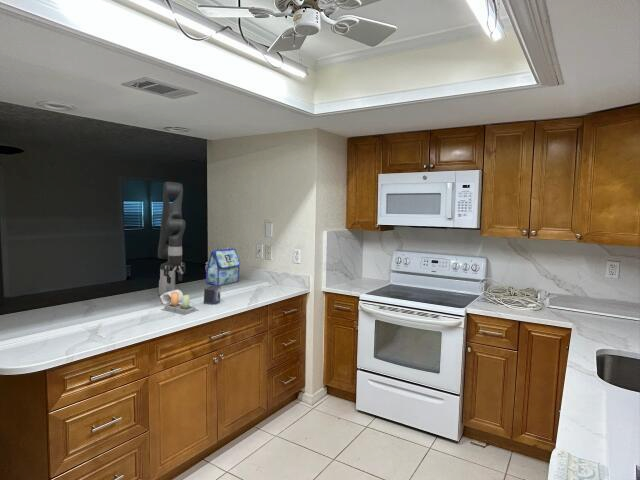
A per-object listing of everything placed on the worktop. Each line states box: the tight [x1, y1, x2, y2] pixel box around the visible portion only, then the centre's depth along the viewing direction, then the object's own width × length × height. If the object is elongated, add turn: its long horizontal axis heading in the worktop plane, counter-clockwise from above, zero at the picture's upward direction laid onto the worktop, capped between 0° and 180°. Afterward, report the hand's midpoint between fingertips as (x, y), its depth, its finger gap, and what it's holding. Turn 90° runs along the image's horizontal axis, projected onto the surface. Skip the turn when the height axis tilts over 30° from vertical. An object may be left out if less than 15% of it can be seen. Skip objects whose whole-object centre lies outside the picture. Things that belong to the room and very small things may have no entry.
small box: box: [203, 284, 221, 306], centre depth 248 cm, size 11×6×10 cm, turn 168°
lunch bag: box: [205, 248, 241, 286], centre depth 305 cm, size 22×17×26 cm
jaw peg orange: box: [170, 292, 180, 307], centre depth 231 cm, size 4×4×9 cm
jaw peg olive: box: [181, 294, 190, 310], centre depth 227 cm, size 4×4×9 cm
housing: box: [160, 303, 199, 316], centre depth 229 cm, size 18×12×3 cm, turn 65°
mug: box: [159, 289, 184, 305], centre depth 244 cm, size 12×10×8 cm
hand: (174, 281), depth 229 cm, fingers open, 8 cm apart
